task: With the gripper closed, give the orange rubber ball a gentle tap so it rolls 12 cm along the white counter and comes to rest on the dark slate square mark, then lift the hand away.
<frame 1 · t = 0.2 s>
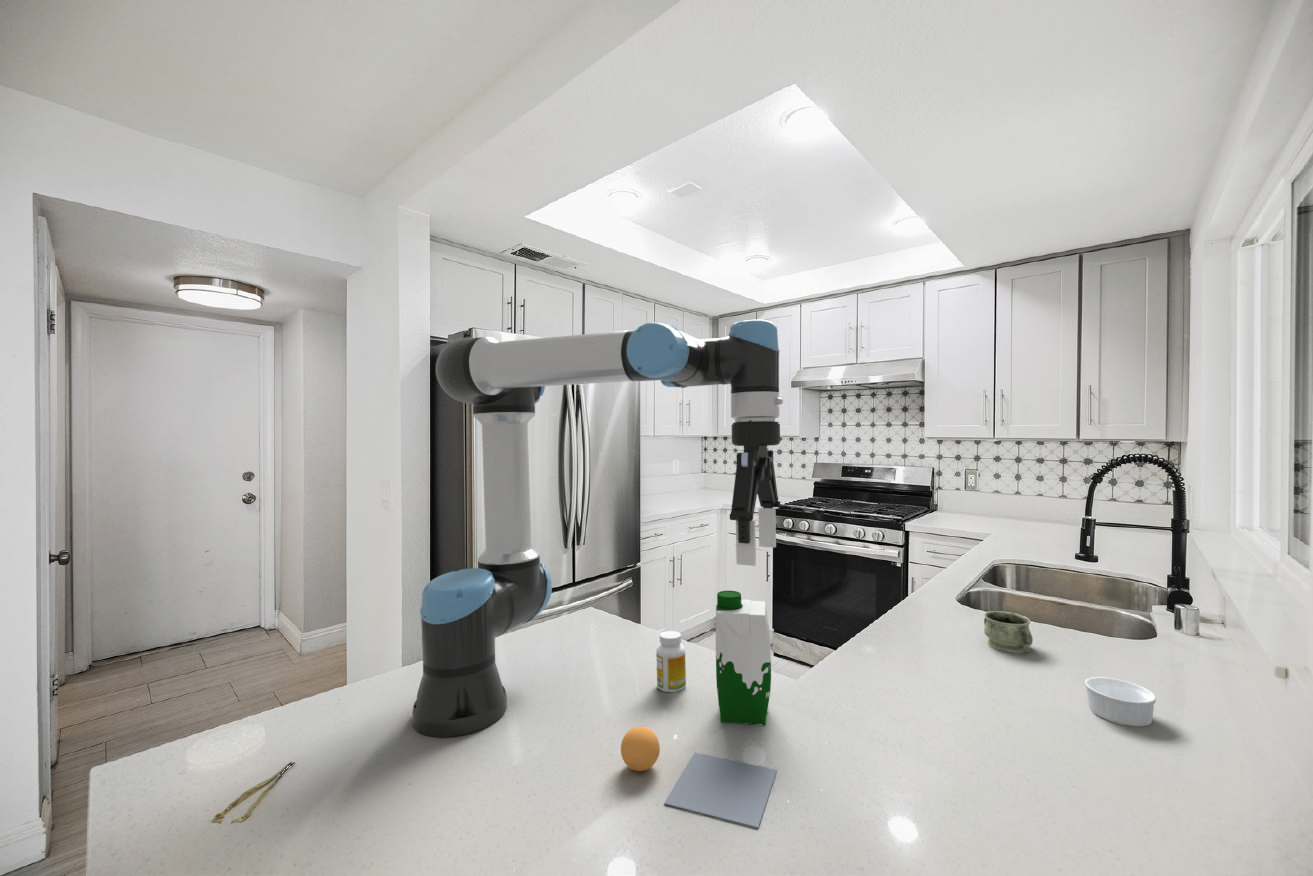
hand: (757, 555, 87), 28 cm above the worktop, tool pointing down, fingers open, 13 cm apart
supplement bottle: (671, 687, 103), on the worktop
tongs: (260, 797, 75), on the worktop
vessel: (1007, 647, 119), on the worktop
ball: (640, 748, 78), on the worktop
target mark: (723, 787, 73), on the worktop
ramekin: (1119, 716, 90), on the worktop
milk carton: (744, 714, 92), on the worktop
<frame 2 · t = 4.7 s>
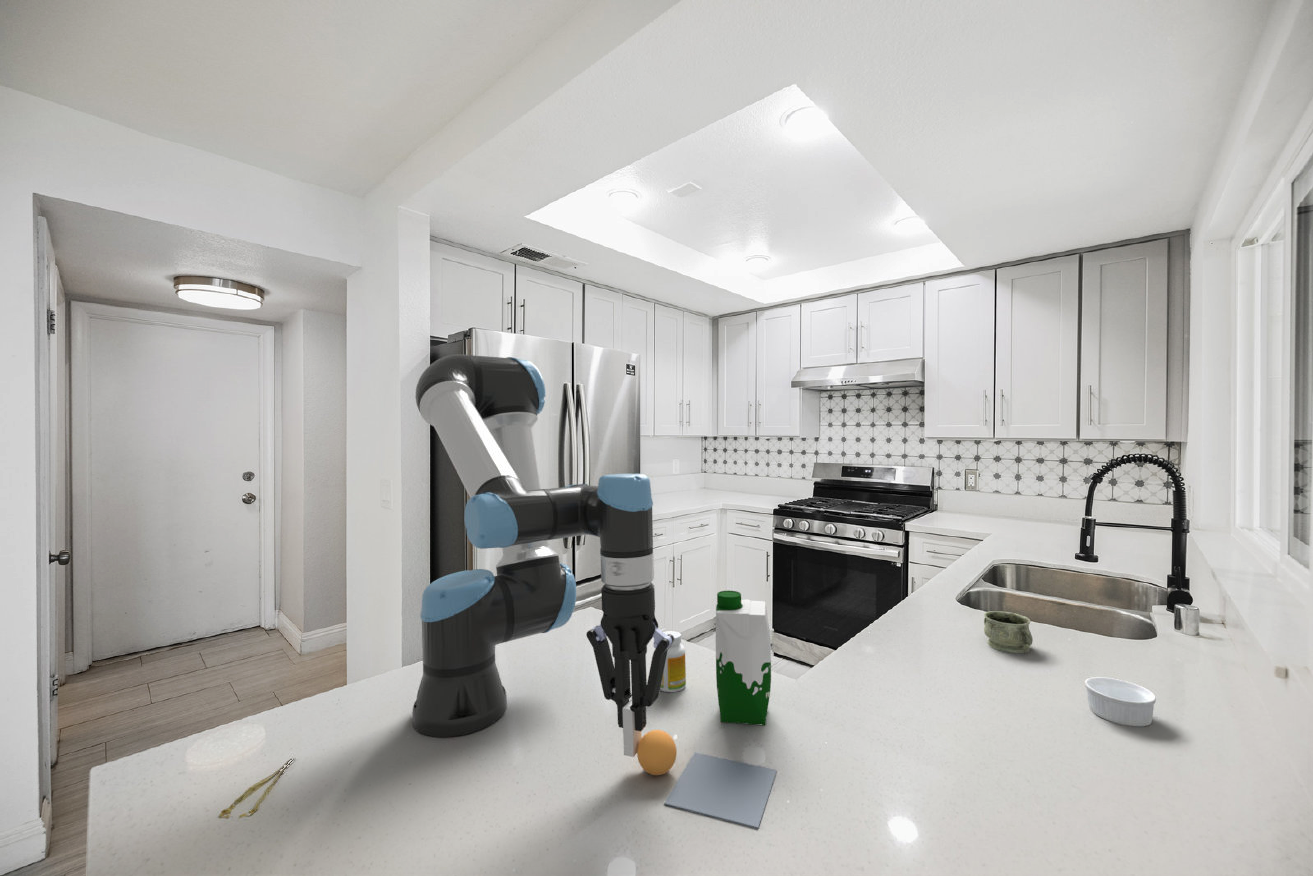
hand: (632, 750, 78), 2 cm above the worktop, tool pointing down, fingers closed
ball: (656, 752, 77), on the worktop
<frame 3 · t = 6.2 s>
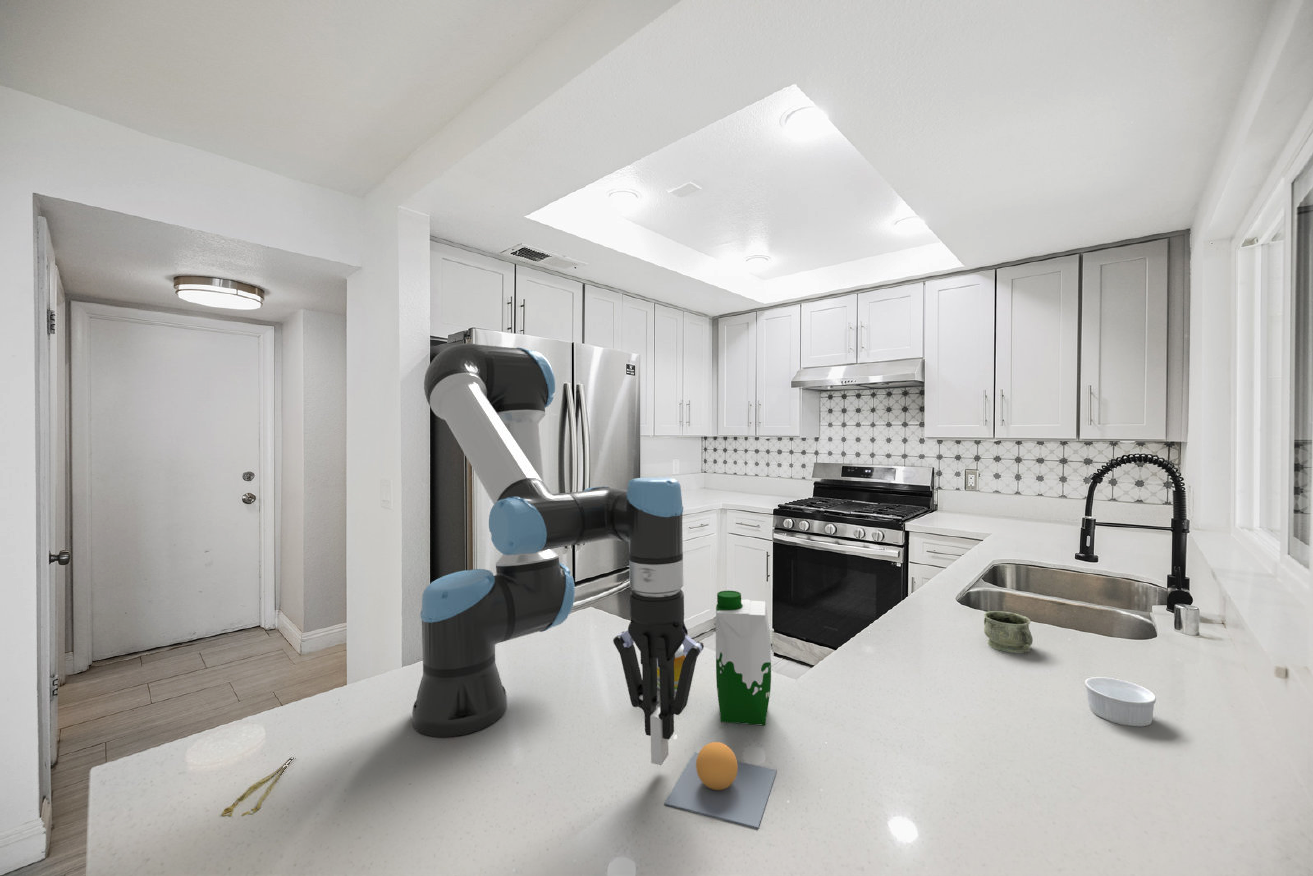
hand: (660, 758, 77), 2 cm above the worktop, tool pointing down, fingers closed
ball: (716, 765, 73), on the worktop
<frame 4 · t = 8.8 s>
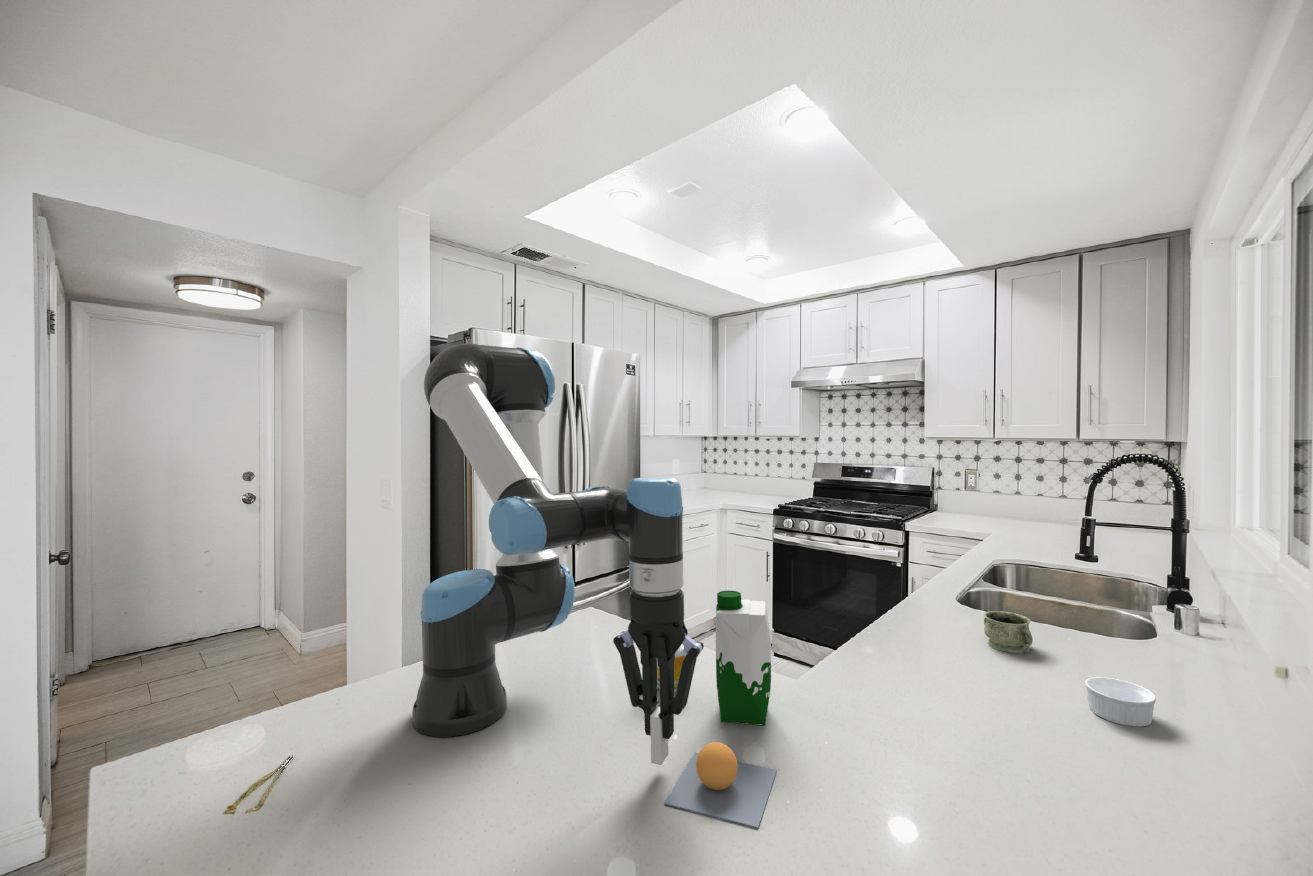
hand: (659, 758, 77), 2 cm above the worktop, tool pointing down, fingers closed
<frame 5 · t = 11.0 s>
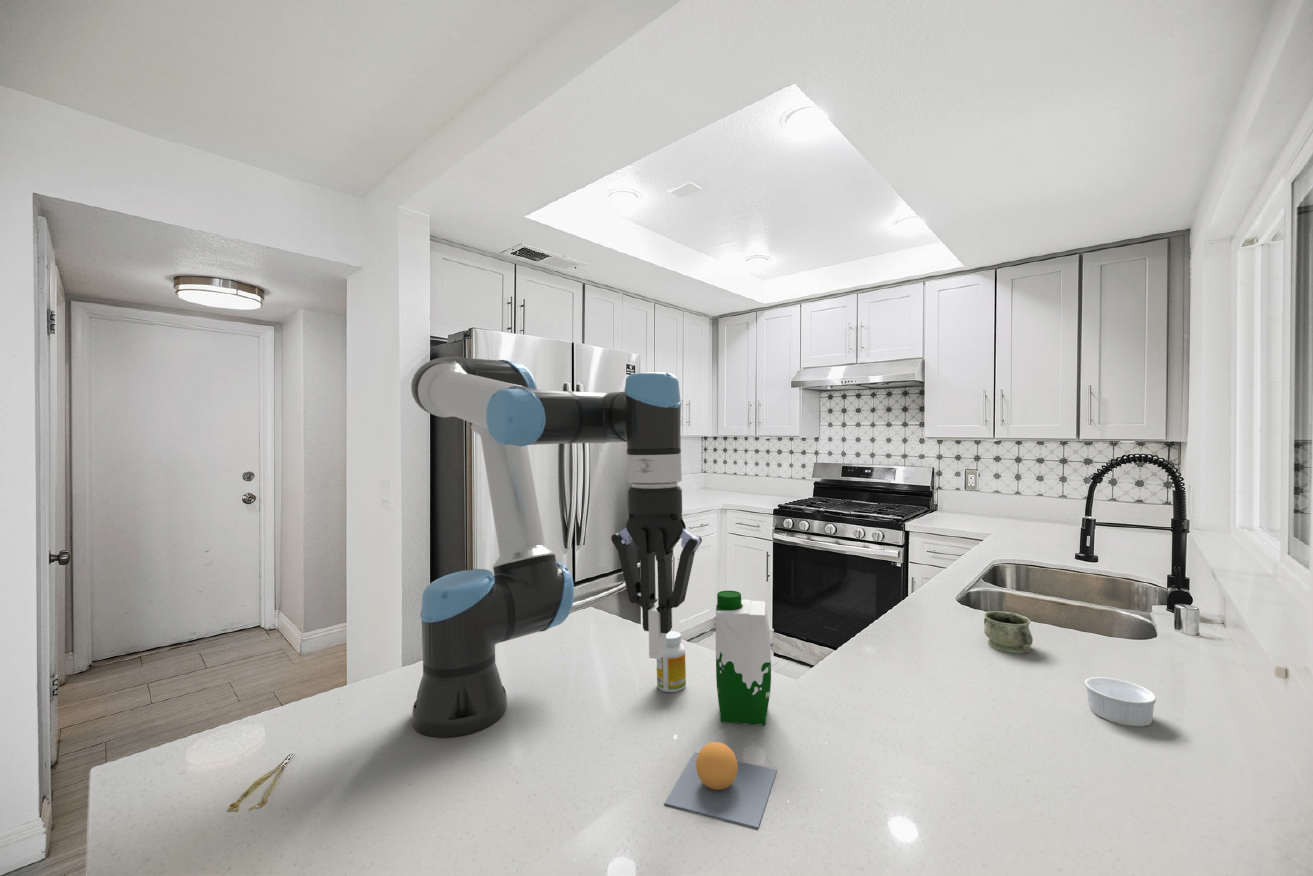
hand: (657, 654, 77), 16 cm above the worktop, tool pointing down, fingers closed
at the end: ball 0.8 cm from the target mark (horizontally); ball at rest at the end (0.0 cm/s); ball moved 11.2 cm from its start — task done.
